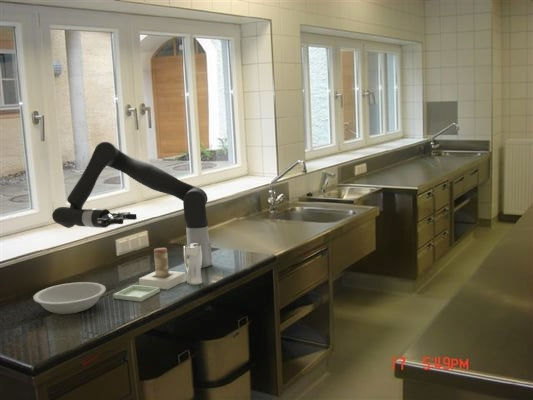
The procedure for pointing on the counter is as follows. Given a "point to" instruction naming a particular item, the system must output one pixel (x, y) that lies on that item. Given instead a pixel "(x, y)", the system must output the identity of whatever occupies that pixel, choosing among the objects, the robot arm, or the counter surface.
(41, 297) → the soup bowl
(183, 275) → the socket block
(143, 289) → the green tray
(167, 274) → the wooden plug
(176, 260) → the counter surface
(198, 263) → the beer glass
